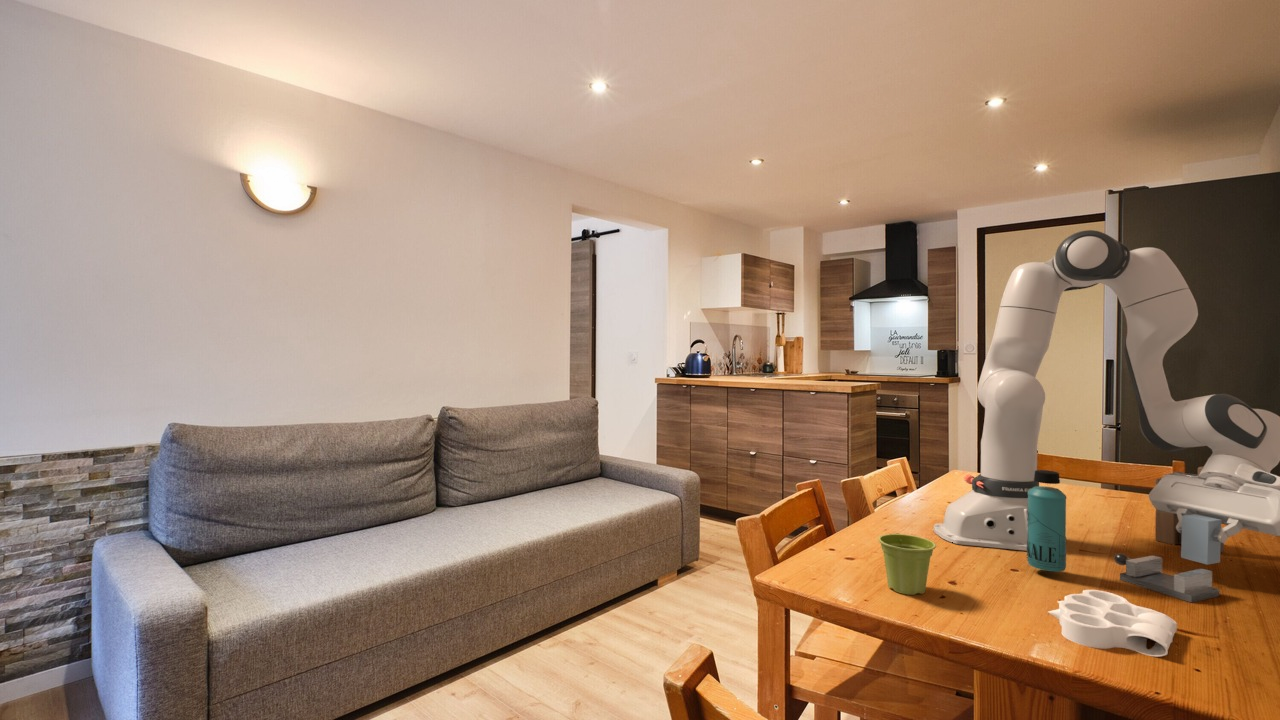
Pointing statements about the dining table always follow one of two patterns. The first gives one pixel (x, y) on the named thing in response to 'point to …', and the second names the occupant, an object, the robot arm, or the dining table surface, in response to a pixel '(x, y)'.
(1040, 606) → the dining table surface
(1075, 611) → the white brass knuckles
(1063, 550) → the beverage bottle
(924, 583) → the plant pot
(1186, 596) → the vise
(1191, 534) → the steel block
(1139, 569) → the free jaw
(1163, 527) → the brown wooden angled piece
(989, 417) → the robot arm
